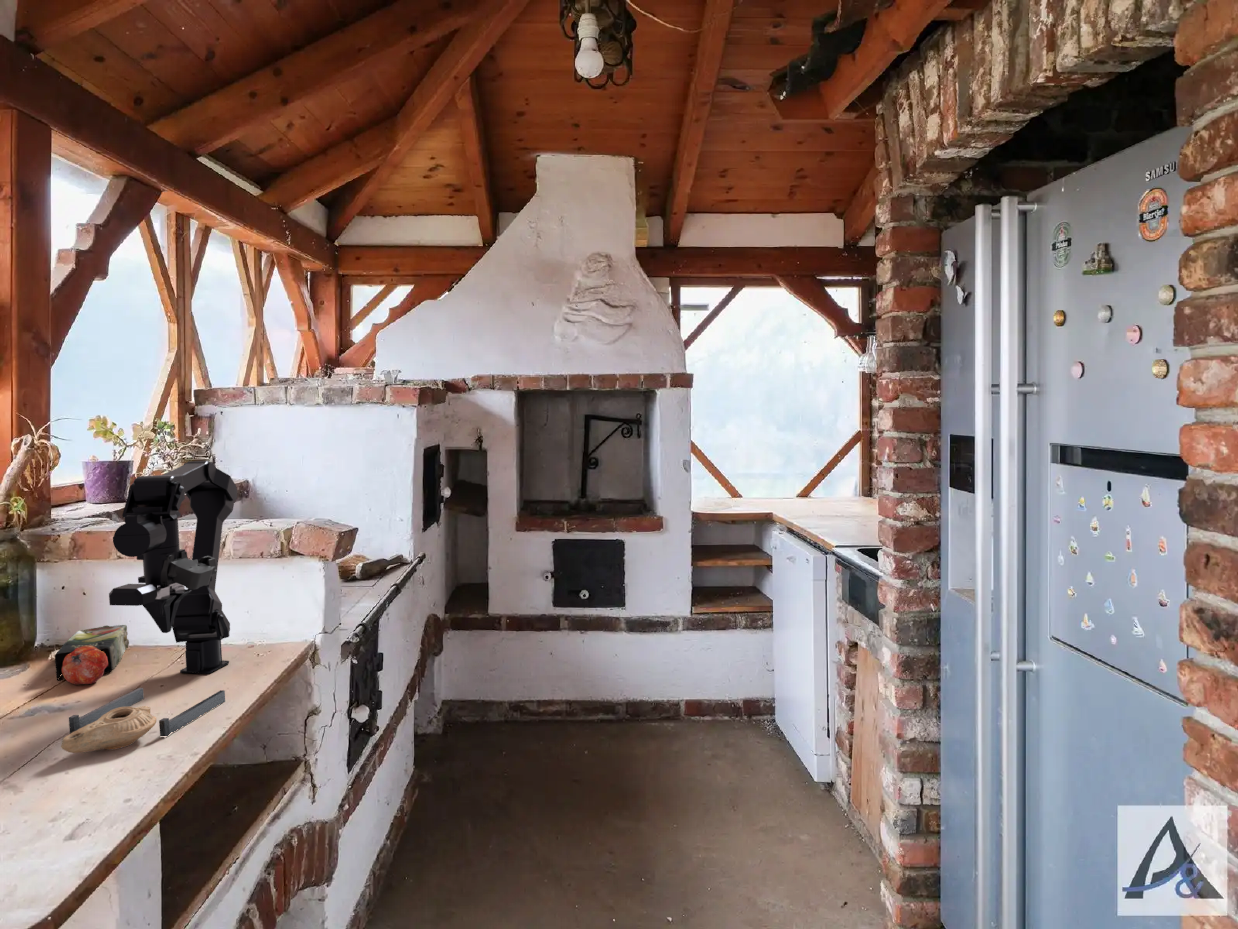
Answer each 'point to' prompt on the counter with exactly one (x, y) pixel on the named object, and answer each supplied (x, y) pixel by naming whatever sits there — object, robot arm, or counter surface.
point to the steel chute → (164, 724)
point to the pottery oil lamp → (111, 730)
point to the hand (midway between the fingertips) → (166, 632)
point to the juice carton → (96, 645)
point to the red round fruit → (84, 665)
